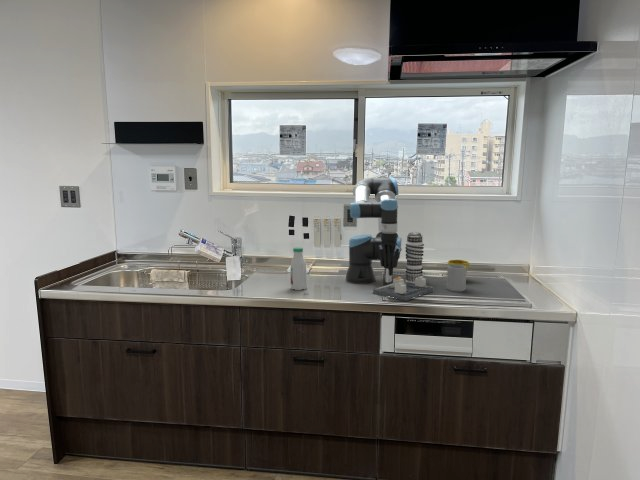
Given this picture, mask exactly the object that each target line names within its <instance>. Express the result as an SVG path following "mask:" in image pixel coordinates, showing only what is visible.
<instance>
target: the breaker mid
mask: <svg viewBox="0 0 640 480" xmlns="http://www.w3.org/2000/svg"><path fill="white" fill-rule="evenodd" d="M404 281H405V279H403V278H402V276H397V277H395V278H392V283H393V287H395V284H397V283H400V282H403V283H404Z"/></svg>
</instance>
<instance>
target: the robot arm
mask: <svg viewBox="0 0 640 480" xmlns="http://www.w3.org/2000/svg"><path fill="white" fill-rule="evenodd" d="M352 193H353V196H354V201H353V202H351V203H350V204H349V205H350V206H349V214H350V217H351V219H352V218H353V219H374V218H375V219H377V222H378V223H377V224H378V233H377V234H376V235H375V237H373V235H372V234H361V235H354V236H352V237H350V239H349V240H348V250H349V251H348V256H349V257H348V261H349V262H348V265H349V266H348V268H347V272H346V274H345V281H346V282H348V283H352V284H370V283H374V282H375V281H376V275H375V273H374V268H373V261H379V262H380V266H381V267H383V268H384V275H385V283H391V282H392V283H393V274H394V269H395V268H397V267H398V264H399V263H398V262H399V259H401V258H400V257H401V253H402V252H401V251H402V240H403V239H402V237H400V236H399V235H398V233H397V232H398V209H399V206H398V200H397V198H396V199H395V196H396V195H398V196H399V185H398V181H397V179H396V178H395V177H367V178H364V179H361V180H360V181H358V182H357V183H355V184H354V186H353V189H352ZM370 194H375V198H374V201H375V200H376V201H377V202H376V201H375V202H370V198H369V196H370Z"/></svg>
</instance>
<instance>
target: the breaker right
mask: <svg viewBox="0 0 640 480" xmlns="http://www.w3.org/2000/svg"><path fill="white" fill-rule="evenodd" d="M415 286H419V287H424V286H427V278H424V275H423V276H420V277H418V278H415Z"/></svg>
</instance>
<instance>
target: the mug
mask: <svg viewBox="0 0 640 480" xmlns="http://www.w3.org/2000/svg"><path fill="white" fill-rule="evenodd" d="M446 276H447V278H446V289H447V290H448V291H450V290H451V292H465V291H466V290H467V286H466V284H467V273H466V266H463V265H449V266H448V265H447V275H446Z"/></svg>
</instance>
